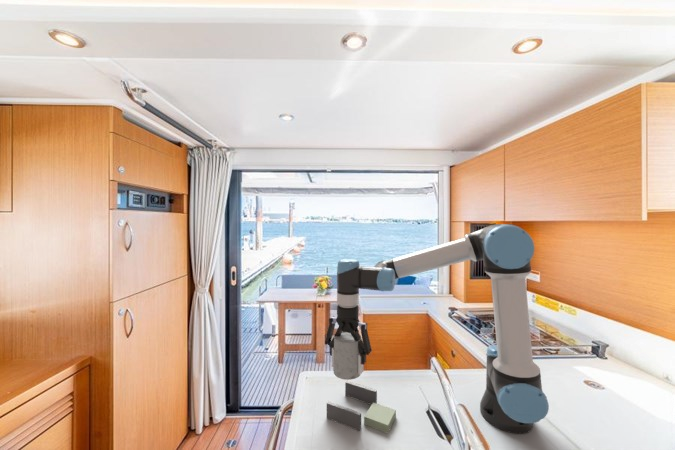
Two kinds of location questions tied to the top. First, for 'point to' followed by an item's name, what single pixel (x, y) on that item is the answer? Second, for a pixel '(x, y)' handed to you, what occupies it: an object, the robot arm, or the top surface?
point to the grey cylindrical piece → (346, 356)
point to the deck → (380, 417)
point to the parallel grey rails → (349, 415)
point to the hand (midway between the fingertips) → (347, 368)
